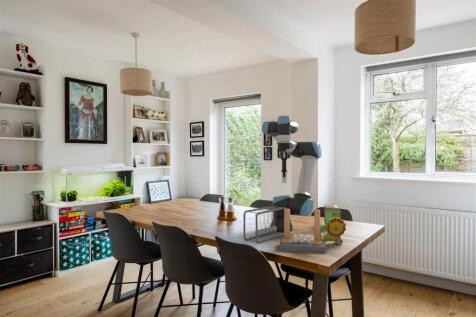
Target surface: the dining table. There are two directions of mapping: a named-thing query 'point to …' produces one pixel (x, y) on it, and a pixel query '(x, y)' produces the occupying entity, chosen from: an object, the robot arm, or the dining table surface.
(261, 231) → the newton's cradle
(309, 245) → the breaker board
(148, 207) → the dining table surface
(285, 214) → the post
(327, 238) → the toy lion
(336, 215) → the tea box
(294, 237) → the breaker paddles
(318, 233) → the post
